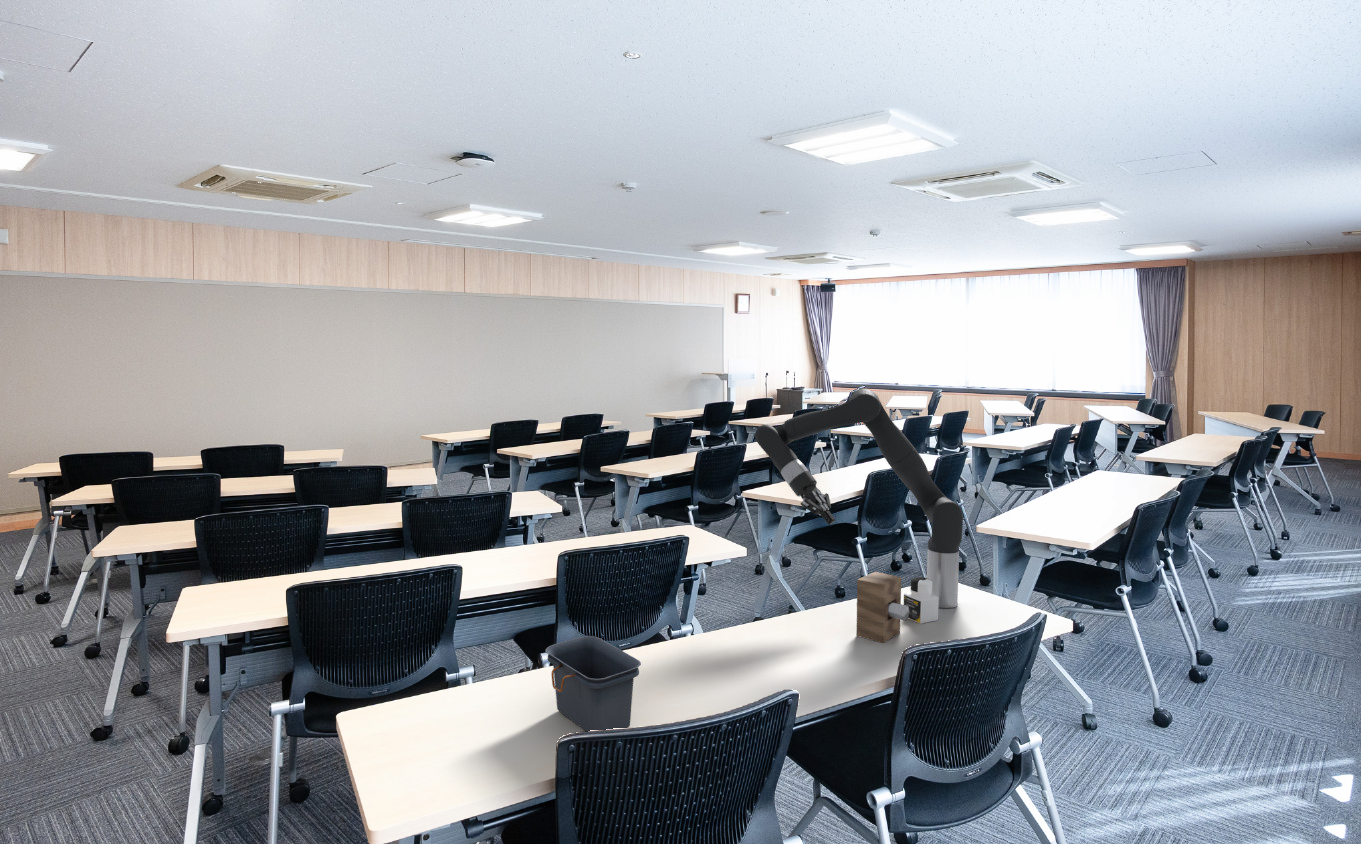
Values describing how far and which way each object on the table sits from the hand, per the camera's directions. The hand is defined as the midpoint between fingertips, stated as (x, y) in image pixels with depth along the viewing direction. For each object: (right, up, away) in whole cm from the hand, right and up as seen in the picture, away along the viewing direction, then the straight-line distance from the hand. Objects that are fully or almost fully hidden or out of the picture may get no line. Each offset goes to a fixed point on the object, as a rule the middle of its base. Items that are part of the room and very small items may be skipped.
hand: (832, 522), depth 223 cm
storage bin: (-65, -34, -64) cm, 97 cm away
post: (+10, -29, -15) cm, 34 cm away
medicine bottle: (+26, -28, -2) cm, 38 cm away
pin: (+11, -24, -16) cm, 31 cm away
